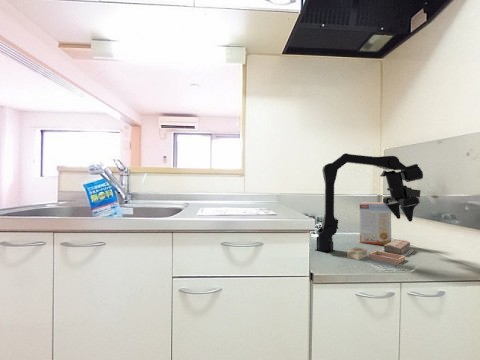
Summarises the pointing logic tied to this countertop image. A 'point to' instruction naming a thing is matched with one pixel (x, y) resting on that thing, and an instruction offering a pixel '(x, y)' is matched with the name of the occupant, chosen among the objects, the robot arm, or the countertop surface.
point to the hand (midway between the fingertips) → (404, 220)
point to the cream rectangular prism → (357, 253)
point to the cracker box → (375, 223)
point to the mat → (377, 261)
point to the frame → (398, 257)
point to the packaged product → (398, 248)
